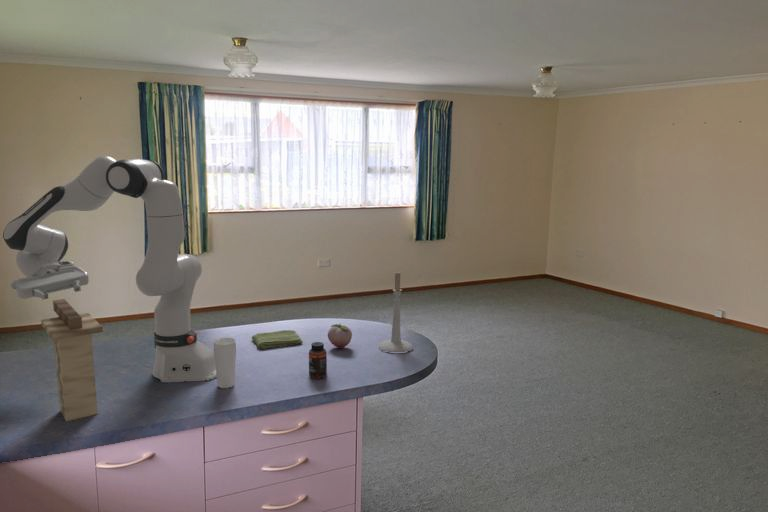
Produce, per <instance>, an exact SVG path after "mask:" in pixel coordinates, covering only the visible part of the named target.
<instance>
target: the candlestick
mask: <svg viewBox="0 0 768 512" xmlns="http://www.w3.org/2000/svg"><path fill="white" fill-rule="evenodd" d="M392 291H393V295H394V299H393V313H392V314H393V315H392V325H391V337H390V339H387V340H384V341H382V342H380V343H379V345H378V349H379V348H380V349H382V350H384V351H388V352H405V351H409V350H411V349H412V350H413V345H412V343H410V342H408V341H406V340H403V339H401V306H400V305H401V301H400V300H401V299H400V296H401V294H402V291H403V289H401V272H400V271H395V272H394V288H393V289H392ZM380 349H379V350H380ZM412 350H411V351H412Z"/></svg>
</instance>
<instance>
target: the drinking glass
mask: <svg viewBox="0 0 768 512" xmlns="http://www.w3.org/2000/svg"><path fill="white" fill-rule="evenodd" d="M236 342H237V341H236V339H235V338H233V337H219V338H217V339H214V341H213V352H214V360H215V367H216V375H217V377H216V386H217V387H218V388H219V387H220V389H230V388H232V387H234V386H235V377H236V376H235V375H236V373H235V372H236V357H237V354H236V353H237V343H236ZM233 385H234V386H233ZM229 387H230V388H229Z"/></svg>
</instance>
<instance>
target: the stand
mask: <svg viewBox="0 0 768 512" xmlns="http://www.w3.org/2000/svg"><path fill="white" fill-rule="evenodd" d="M78 314H79V315H80V316H81V317H82V328H78V329H72V330H70V329H69V328H68V327H67V326H66V324H65V323H64V322H63V321H62V320H61V318H60V317H59V316H57V317H50V318H44V319H40V321H41V322H40V323H41V326H42V328H43V329H44V330H45V332H46V333H47V335H48V336H49V337H50V339H51V340H52V341H53V347H54V357H55V358H54V359H55V367H56V369H55V370H56V379H57V390H58V399H59V400H58V402H59V410H60V412H61V415H62V416H63V418H64V420H65V422H66V423H67V422H71V421H74V420H79V419H82V418H87V417H91V416H94V415H98V413H99V412H98V399H97V388H96V387H97V386H96V377H95V376H96V375H95V364H94V363H95V362H94V349H93V348H94V347H93V339H92V336H93V334H99V333H103V331H104V330H103V326H102V325H101V324H100V323H99V322H98V321H97V320H96V319H95V318H94V317H93V316H92V315H91V314H90V312H83V313H78Z"/></svg>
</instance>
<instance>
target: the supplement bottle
mask: <svg viewBox="0 0 768 512" xmlns="http://www.w3.org/2000/svg"><path fill="white" fill-rule="evenodd" d="M327 360H328V359H327V350H326V348H325V347H324V342H321V341H314V342H312V343H311V349H309V351H308V376H309V377H310V378H312V379H315V378H317V380H318V378H320V379H324V378H325V377H327V375H328V374H327V373H328V371H327V369H328V365H327V362H328V361H327ZM323 377H324V378H323Z"/></svg>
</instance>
